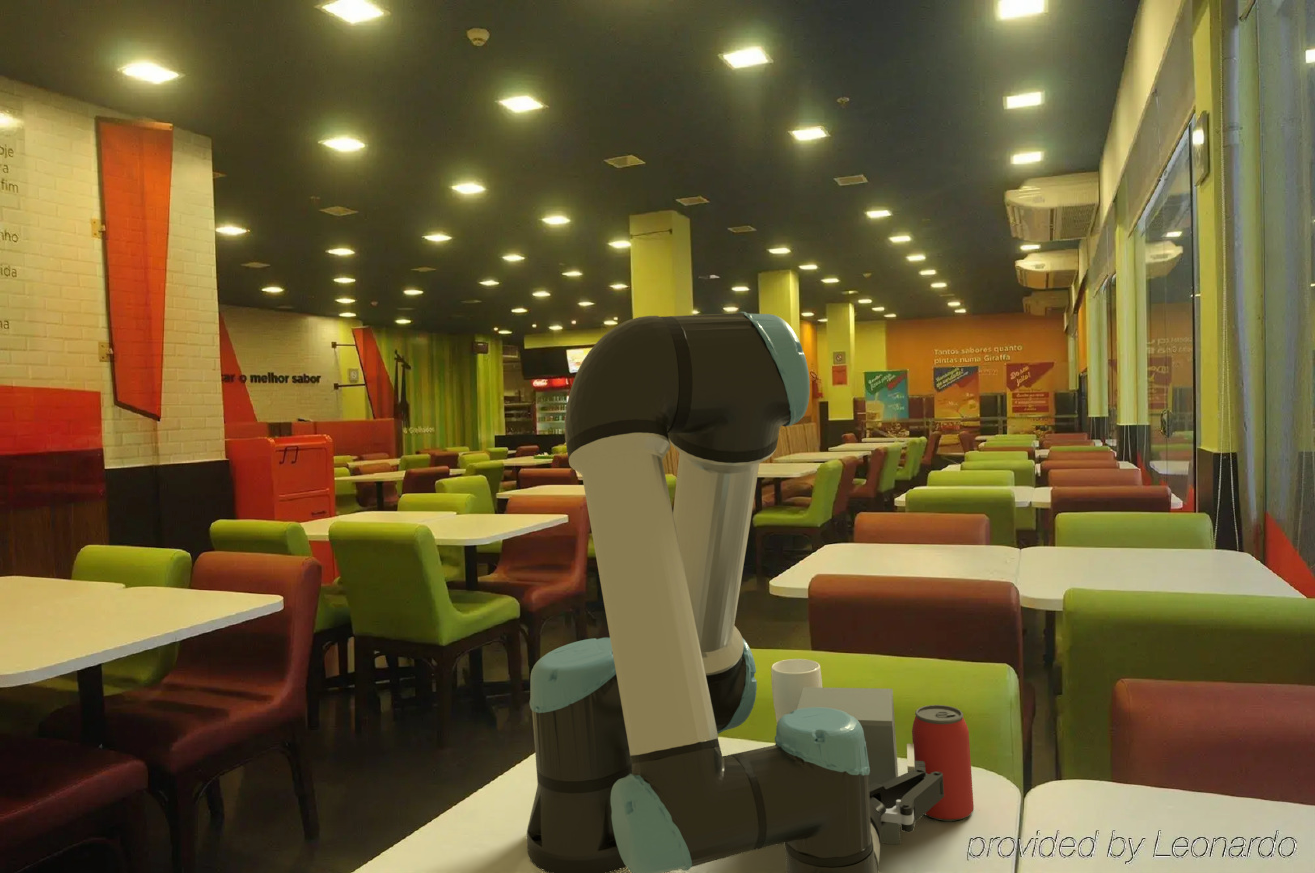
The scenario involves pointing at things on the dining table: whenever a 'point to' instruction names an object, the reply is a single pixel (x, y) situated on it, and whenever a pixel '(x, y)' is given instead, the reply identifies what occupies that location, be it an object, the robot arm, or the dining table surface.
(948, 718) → the beer can
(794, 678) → the drinking glass
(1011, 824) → the dining table surface
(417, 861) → the dining table surface
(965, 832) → the dining table surface
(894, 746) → the tall grey box
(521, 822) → the dining table surface
